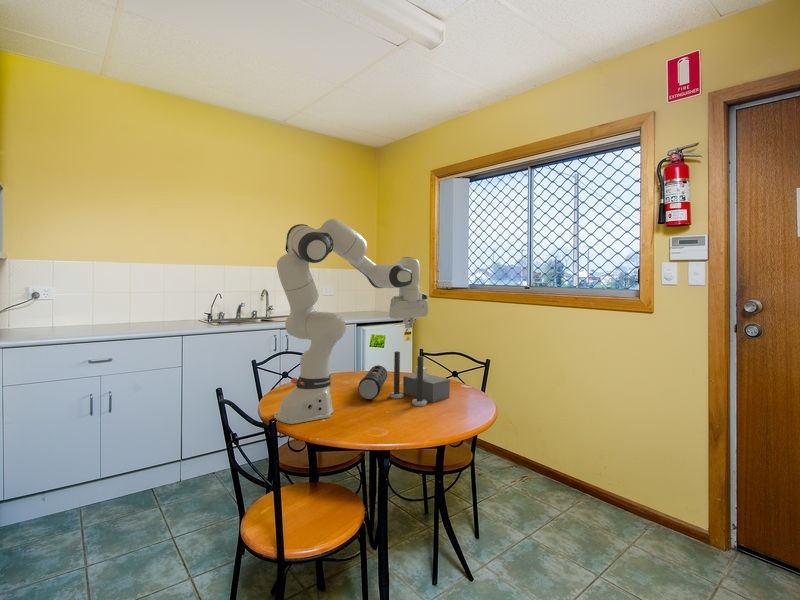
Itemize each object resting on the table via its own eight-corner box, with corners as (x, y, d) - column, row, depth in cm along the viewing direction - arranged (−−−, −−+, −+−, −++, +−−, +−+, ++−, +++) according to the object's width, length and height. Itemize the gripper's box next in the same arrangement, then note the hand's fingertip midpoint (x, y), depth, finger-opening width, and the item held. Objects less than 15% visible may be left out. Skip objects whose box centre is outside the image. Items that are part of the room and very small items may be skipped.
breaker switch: (423, 379, 181) (423, 368, 180) (415, 377, 184) (415, 366, 184) (426, 379, 182) (426, 367, 182) (418, 377, 186) (418, 366, 185)
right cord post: (419, 407, 169) (420, 358, 168) (409, 403, 173) (410, 356, 172) (429, 404, 173) (430, 356, 172) (419, 401, 177) (420, 354, 176)
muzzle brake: (387, 386, 202) (388, 365, 201) (379, 403, 174) (379, 378, 173) (368, 385, 203) (368, 364, 202) (356, 402, 175) (357, 378, 174)
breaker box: (432, 402, 176) (433, 383, 175) (403, 393, 189) (403, 376, 188) (449, 397, 183) (449, 379, 183) (419, 389, 196) (420, 372, 196)
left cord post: (396, 399, 179) (396, 353, 178) (387, 396, 183) (387, 351, 182) (406, 397, 183) (406, 352, 182) (396, 394, 187) (397, 350, 186)
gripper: (396, 296, 166) (396, 330, 167) (430, 295, 180) (430, 327, 181) (386, 295, 171) (385, 329, 172) (420, 295, 185) (419, 326, 186)
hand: (408, 328), depth 176 cm, fingers closed
